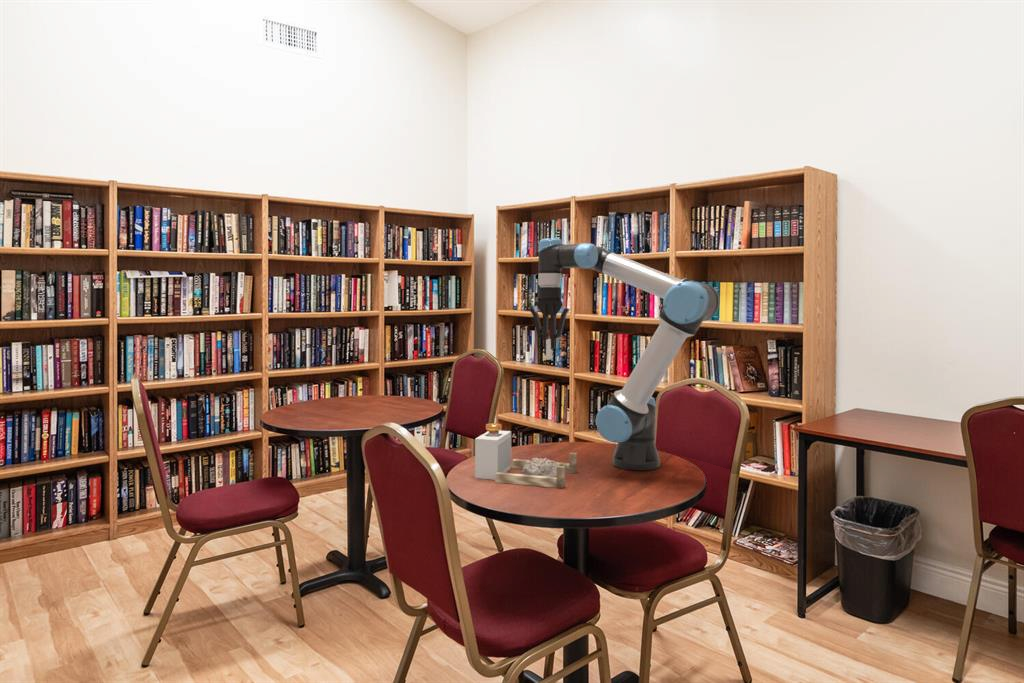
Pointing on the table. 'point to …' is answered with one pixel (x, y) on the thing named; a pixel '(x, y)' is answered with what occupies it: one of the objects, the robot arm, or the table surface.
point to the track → (539, 480)
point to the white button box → (492, 454)
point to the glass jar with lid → (493, 429)
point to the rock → (540, 467)
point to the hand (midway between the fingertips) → (549, 359)
